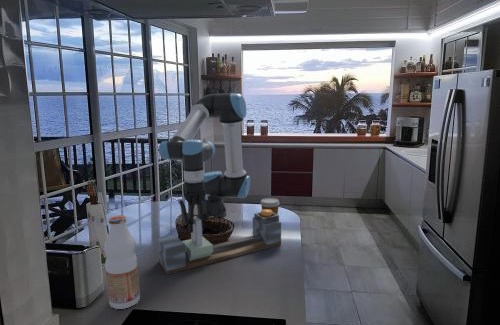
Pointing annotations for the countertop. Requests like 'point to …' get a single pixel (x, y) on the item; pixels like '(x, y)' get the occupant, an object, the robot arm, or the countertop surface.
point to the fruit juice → (121, 265)
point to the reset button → (266, 213)
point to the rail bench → (223, 255)
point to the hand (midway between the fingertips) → (196, 238)
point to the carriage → (198, 243)
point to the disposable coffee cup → (270, 204)
